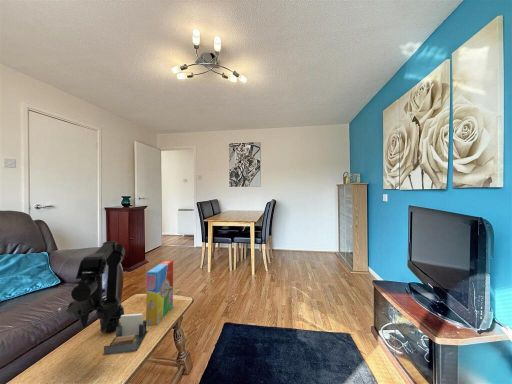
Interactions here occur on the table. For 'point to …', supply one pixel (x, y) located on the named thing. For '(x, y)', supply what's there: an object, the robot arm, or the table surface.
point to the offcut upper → (124, 340)
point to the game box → (159, 292)
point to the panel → (131, 324)
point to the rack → (127, 347)
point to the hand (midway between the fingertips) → (93, 329)
